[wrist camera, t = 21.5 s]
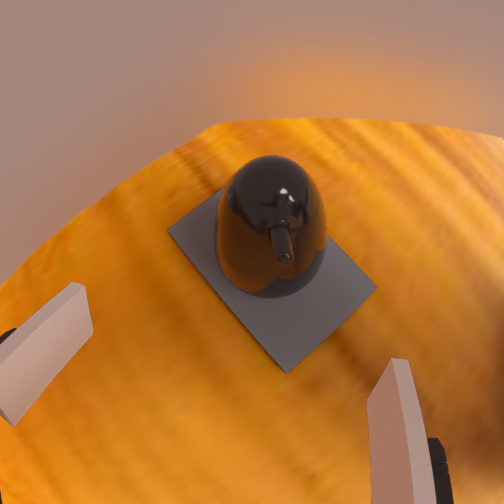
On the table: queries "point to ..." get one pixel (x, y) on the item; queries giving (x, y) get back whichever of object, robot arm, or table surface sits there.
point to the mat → (279, 309)
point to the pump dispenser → (270, 228)
